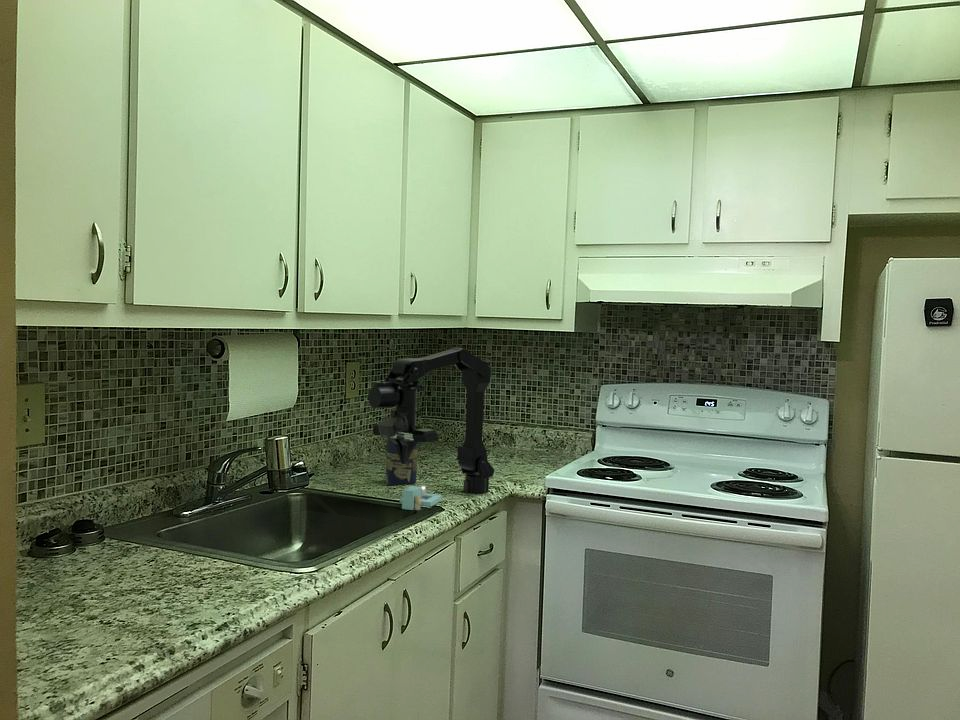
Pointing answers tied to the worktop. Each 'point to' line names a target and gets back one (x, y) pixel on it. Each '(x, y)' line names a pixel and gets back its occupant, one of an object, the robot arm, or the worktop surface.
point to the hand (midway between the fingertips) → (403, 463)
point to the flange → (413, 491)
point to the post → (423, 491)
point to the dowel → (417, 503)
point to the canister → (400, 466)
